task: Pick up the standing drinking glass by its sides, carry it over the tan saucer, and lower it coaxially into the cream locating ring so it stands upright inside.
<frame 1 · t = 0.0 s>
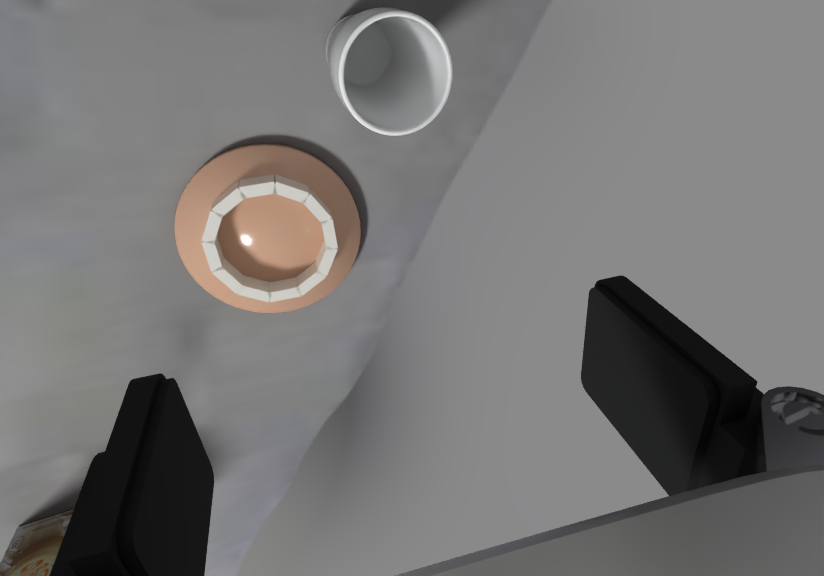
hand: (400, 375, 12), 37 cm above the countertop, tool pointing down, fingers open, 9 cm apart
tan saucer: (271, 231, 48), on the countertop
coffee box: (74, 527, 59), on the countertop
drinking glass: (357, 50, 42), on the countertop
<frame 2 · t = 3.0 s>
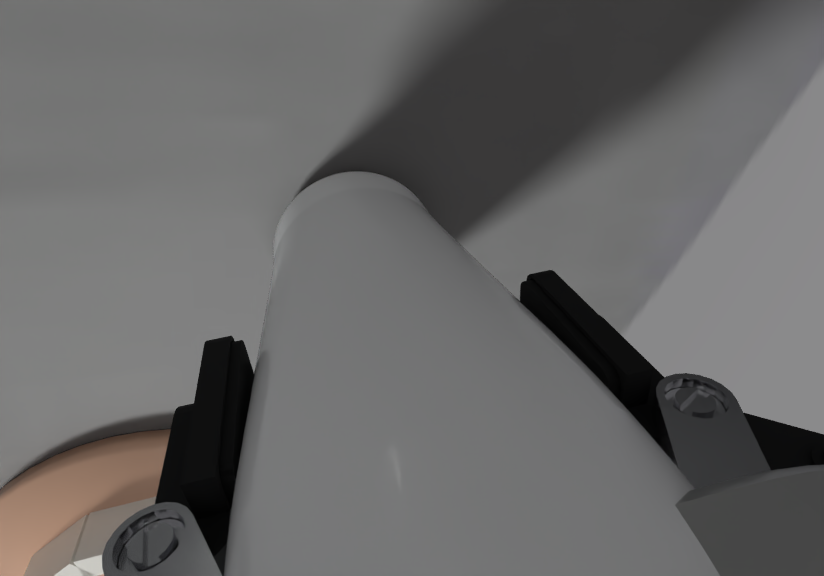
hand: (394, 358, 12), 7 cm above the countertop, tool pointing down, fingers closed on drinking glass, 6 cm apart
tan saucer: (178, 563, 23), on the countertop
drinking glass: (352, 239, 18), on the countertop, touching gripper
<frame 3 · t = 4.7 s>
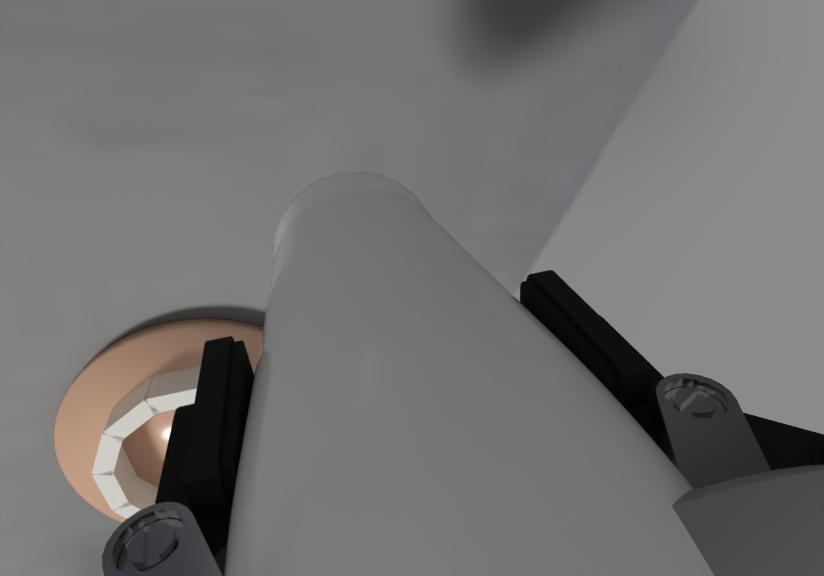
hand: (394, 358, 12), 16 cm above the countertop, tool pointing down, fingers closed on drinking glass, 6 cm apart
tan saucer: (211, 431, 32), on the countertop
drinking glass: (352, 240, 18), point 10 cm above the countertop, touching gripper
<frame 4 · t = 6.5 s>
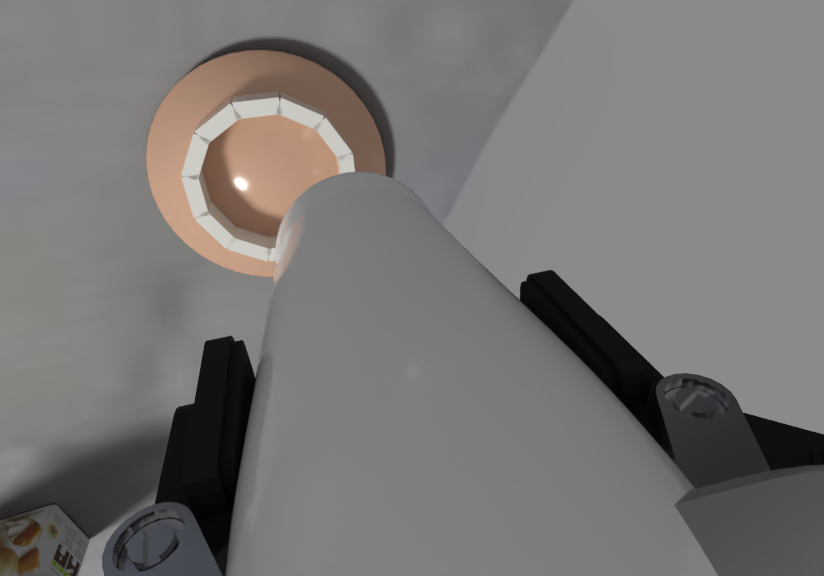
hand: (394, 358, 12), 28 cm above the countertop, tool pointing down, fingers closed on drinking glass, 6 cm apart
tan saucer: (273, 171, 37), on the countertop
coffee box: (24, 534, 49), on the countertop
drinking glass: (354, 240, 18), point 21 cm above the countertop, touching gripper
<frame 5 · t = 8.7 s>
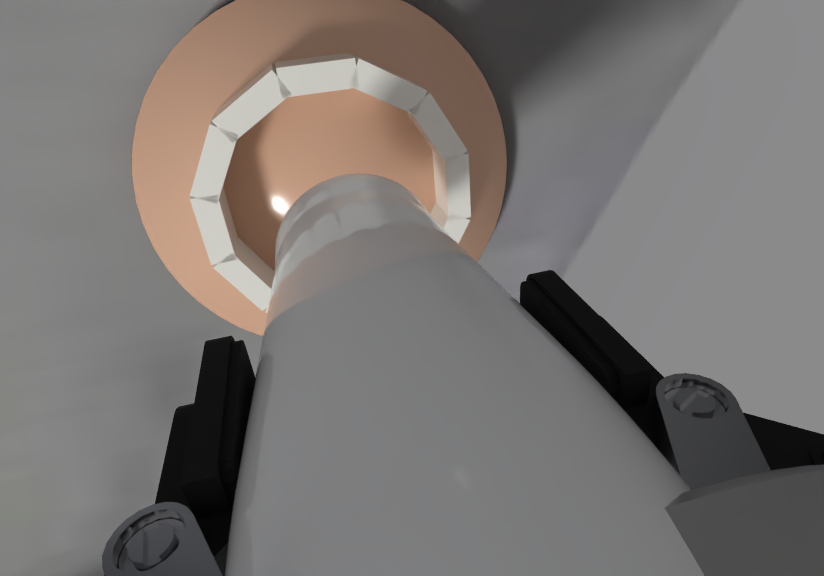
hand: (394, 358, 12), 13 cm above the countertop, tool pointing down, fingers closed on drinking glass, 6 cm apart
tan saucer: (332, 185, 24), on the countertop
drinking glass: (354, 241, 18), point 7 cm above the countertop, touching gripper
when the fingers open (8 cm above the countertop, at t = 10.3 s): drinking glass stays where it is, resting on tan saucer.
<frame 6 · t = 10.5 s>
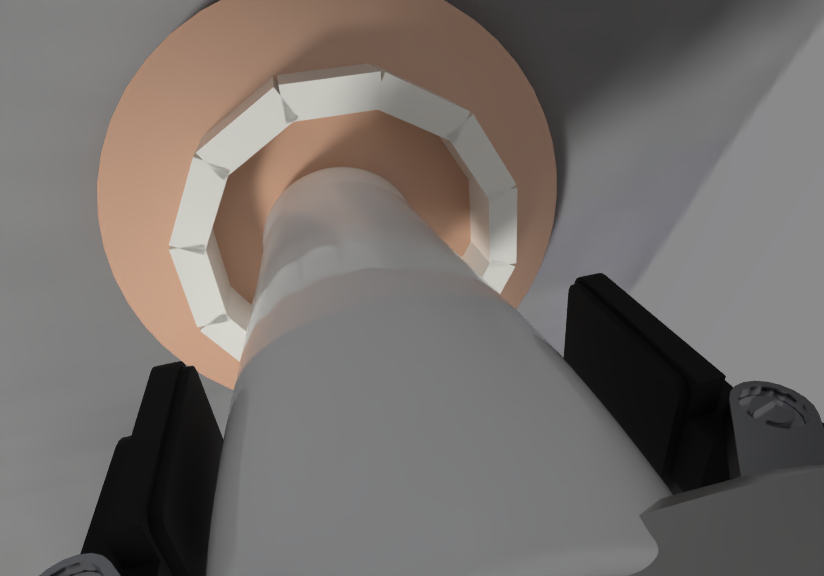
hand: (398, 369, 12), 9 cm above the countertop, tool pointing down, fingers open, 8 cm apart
tan saucer: (346, 222, 20), on the countertop
drinking glass: (339, 233, 19), point 1 cm above the countertop, touching tan saucer
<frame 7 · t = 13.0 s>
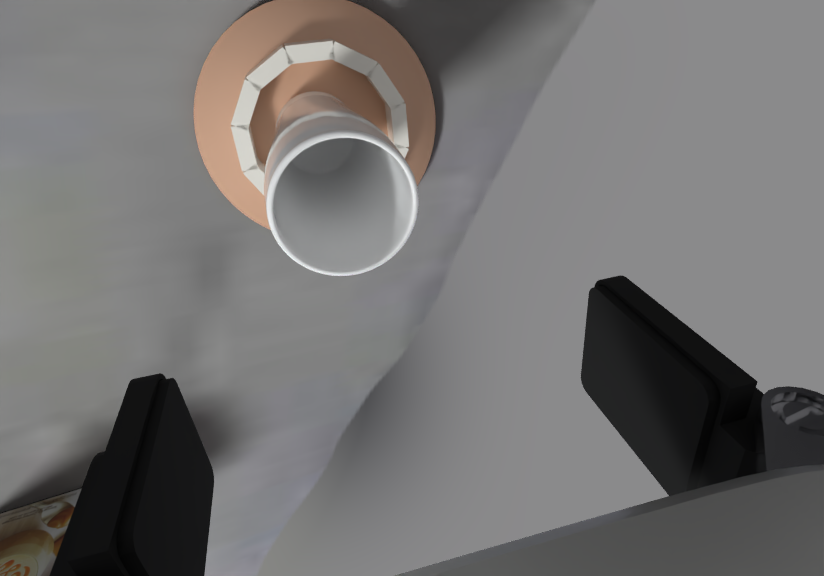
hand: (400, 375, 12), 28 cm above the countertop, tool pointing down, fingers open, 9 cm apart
tan saucer: (320, 127, 36), on the countertop
coffee box: (56, 520, 47), on the countertop
drinking glass: (315, 130, 35), point 1 cm above the countertop, touching tan saucer
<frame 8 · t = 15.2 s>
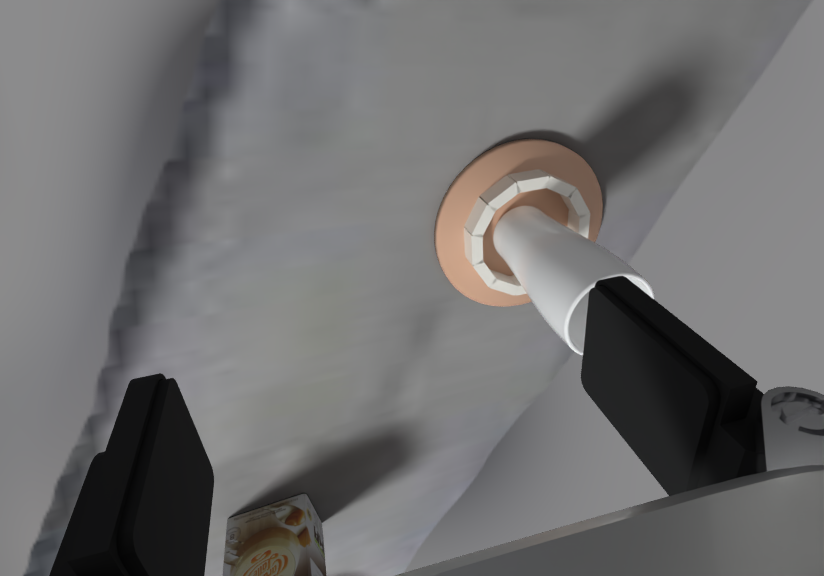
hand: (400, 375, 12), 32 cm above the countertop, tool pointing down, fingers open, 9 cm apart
tan saucer: (517, 226, 48), on the countertop
coffee box: (275, 519, 60), on the countertop
drinking glass: (517, 230, 48), point 1 cm above the countertop, touching tan saucer
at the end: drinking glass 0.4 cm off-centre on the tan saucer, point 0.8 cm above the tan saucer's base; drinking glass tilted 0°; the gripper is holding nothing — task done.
